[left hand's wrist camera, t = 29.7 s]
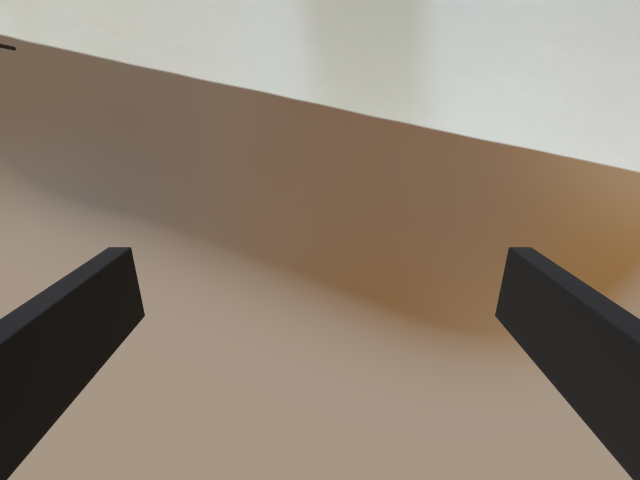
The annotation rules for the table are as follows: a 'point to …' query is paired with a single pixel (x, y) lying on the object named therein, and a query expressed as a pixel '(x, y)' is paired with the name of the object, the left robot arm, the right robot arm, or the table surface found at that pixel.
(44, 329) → the left robot arm
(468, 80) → the table surface
